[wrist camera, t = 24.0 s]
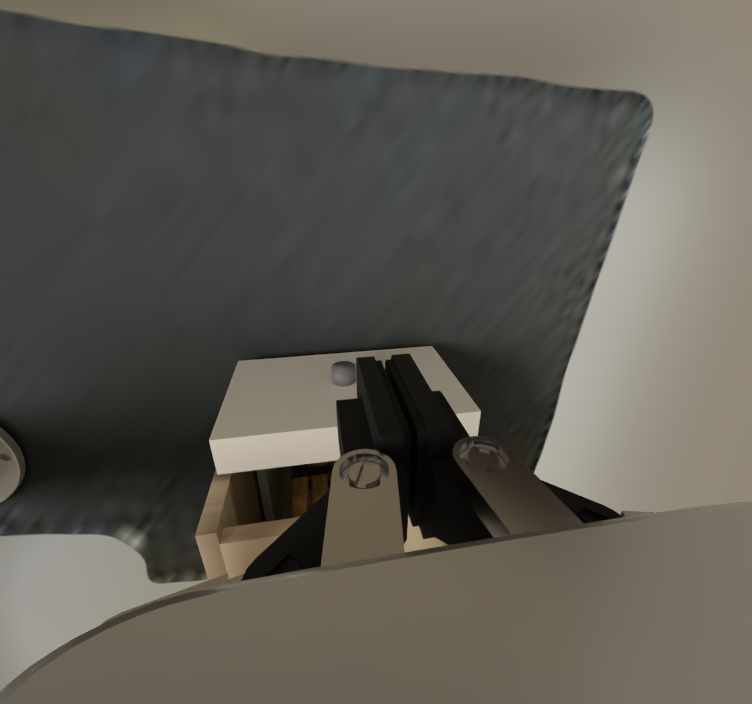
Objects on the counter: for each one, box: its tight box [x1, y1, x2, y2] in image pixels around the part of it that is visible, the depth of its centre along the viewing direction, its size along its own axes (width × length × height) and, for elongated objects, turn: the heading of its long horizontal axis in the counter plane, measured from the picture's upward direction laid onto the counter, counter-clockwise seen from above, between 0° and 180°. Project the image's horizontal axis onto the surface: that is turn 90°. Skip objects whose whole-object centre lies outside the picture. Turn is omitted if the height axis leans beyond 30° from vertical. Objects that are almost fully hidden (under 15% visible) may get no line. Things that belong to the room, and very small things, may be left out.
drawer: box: [209, 346, 481, 522], centre depth 36 cm, size 19×24×12 cm
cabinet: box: [195, 470, 443, 580], centre depth 36 cm, size 20×22×18 cm
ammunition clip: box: [291, 460, 337, 518], centre depth 35 cm, size 11×2×12 cm, turn 90°
